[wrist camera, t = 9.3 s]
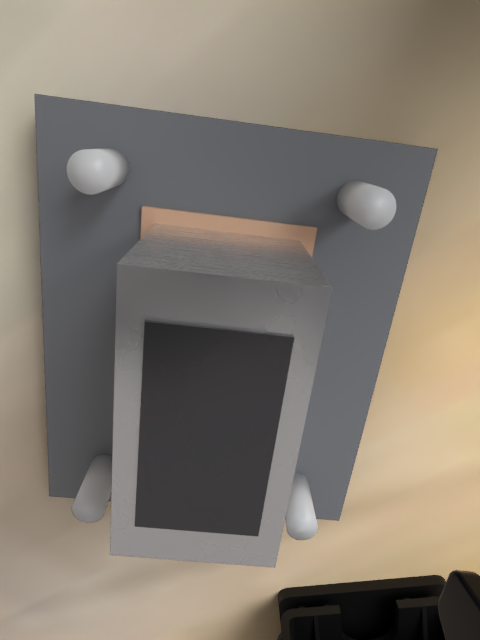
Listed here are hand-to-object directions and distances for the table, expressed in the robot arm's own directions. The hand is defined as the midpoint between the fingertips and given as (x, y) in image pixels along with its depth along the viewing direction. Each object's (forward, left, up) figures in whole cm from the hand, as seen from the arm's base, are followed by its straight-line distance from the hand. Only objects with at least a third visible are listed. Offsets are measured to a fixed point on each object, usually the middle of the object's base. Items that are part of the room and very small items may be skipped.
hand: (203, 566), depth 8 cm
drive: (0, 0, -10) cm, 10 cm away
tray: (0, 0, -11) cm, 11 cm away
